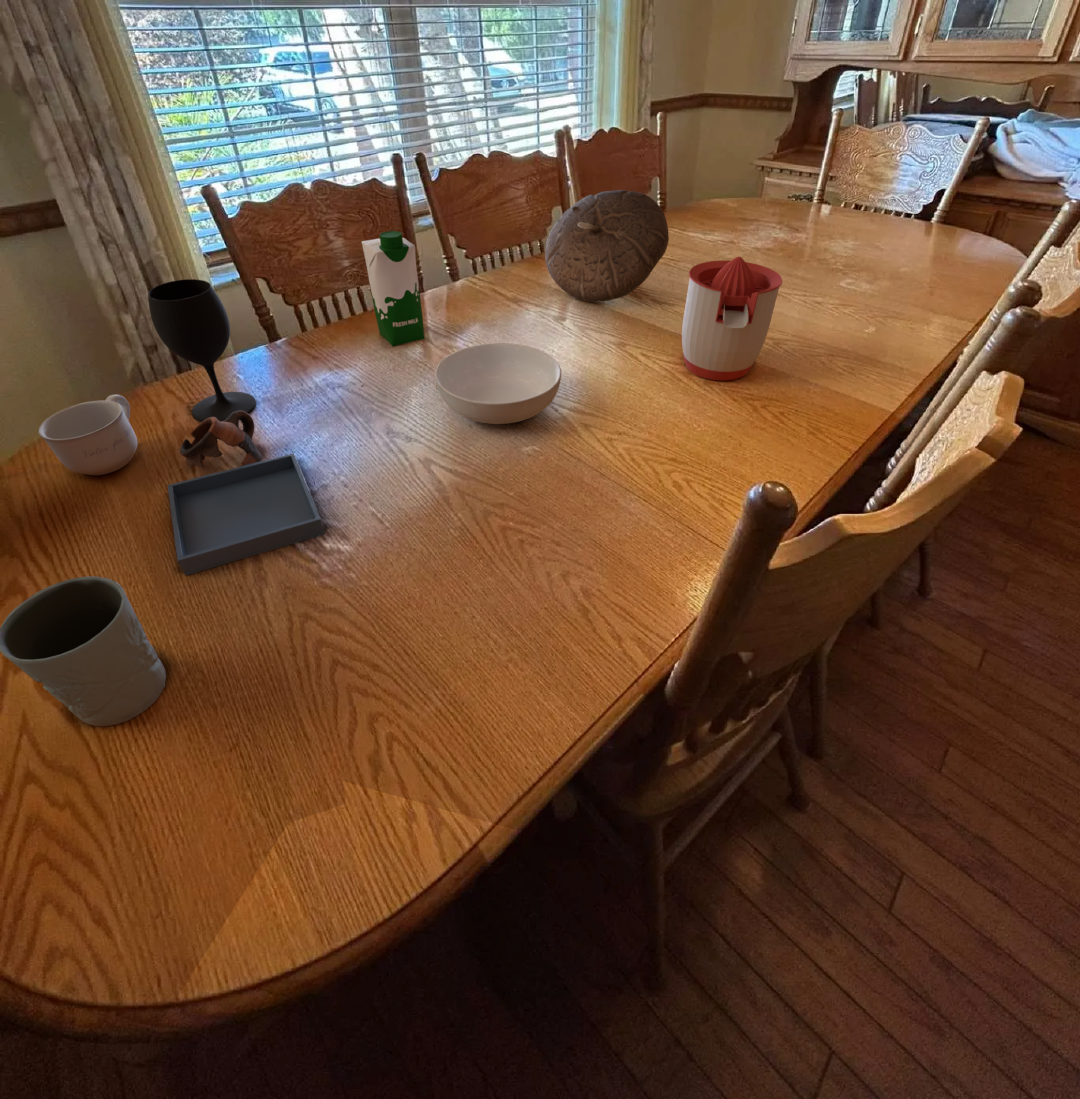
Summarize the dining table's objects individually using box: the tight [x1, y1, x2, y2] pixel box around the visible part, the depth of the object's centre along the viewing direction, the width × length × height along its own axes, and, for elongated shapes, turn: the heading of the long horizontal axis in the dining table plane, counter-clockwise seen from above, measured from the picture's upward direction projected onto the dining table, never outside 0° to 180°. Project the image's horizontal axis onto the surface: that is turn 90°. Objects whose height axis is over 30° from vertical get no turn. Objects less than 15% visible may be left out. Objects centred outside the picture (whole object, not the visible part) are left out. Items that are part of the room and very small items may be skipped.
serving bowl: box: [434, 342, 562, 425], centre depth 106 cm, size 21×21×7 cm
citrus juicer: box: [681, 256, 783, 381], centre depth 112 cm, size 16×17×20 cm
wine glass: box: [147, 278, 257, 423], centre depth 101 cm, size 10×10×20 cm
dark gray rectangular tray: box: [167, 452, 326, 576], centre depth 85 cm, size 17×17×3 cm
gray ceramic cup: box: [0, 575, 167, 727], centre depth 61 cm, size 10×10×12 cm
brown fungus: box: [544, 189, 670, 303], centre depth 142 cm, size 28×23×25 cm
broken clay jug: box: [179, 410, 262, 470], centre depth 95 cm, size 12×10×8 cm
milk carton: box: [361, 230, 426, 348], centre depth 122 cm, size 9×9×20 cm
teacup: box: [38, 394, 139, 476], centre depth 94 cm, size 14×11×8 cm
